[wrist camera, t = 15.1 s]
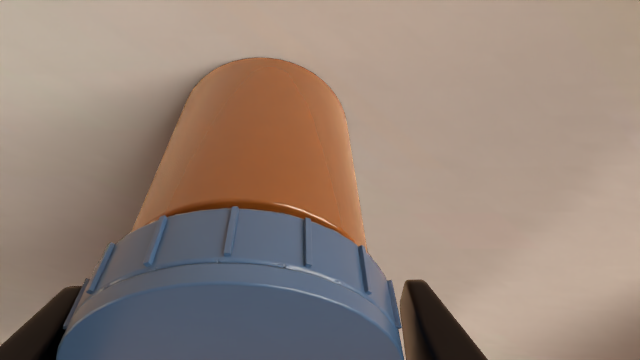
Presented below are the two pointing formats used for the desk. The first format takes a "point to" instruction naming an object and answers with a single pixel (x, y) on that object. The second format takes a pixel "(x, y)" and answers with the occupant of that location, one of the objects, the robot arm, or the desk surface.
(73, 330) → the jar lid
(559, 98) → the desk surface
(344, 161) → the jar
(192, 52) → the desk surface
